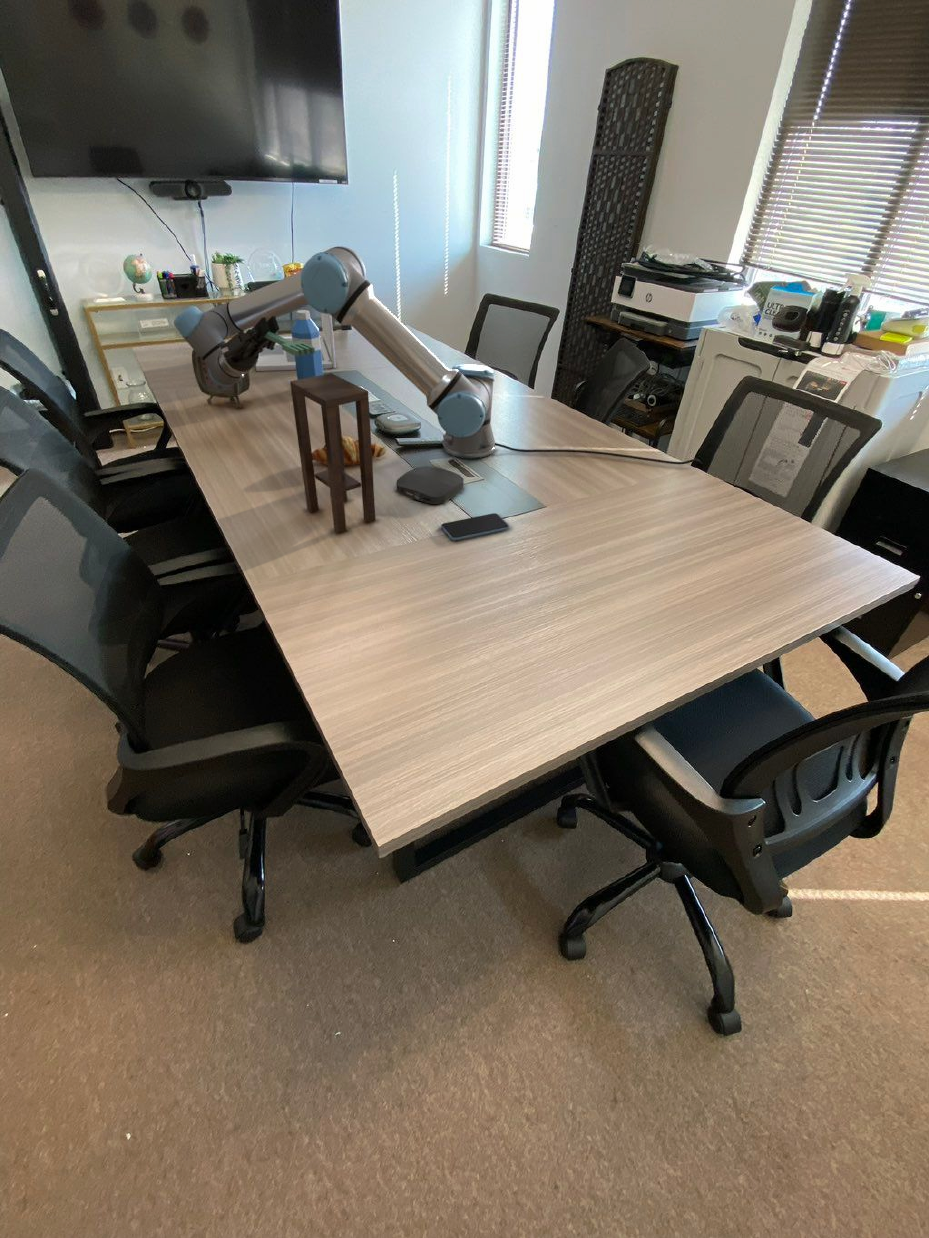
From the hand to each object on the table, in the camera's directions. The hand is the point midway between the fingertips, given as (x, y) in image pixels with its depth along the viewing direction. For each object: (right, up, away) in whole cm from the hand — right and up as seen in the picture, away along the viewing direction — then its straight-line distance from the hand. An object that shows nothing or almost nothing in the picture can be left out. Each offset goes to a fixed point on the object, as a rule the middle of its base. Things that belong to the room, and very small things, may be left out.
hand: (270, 323), depth 131 cm
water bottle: (-10, +14, +77) cm, 79 cm away
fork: (+2, -4, 0) cm, 5 cm away
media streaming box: (+34, -31, +23) cm, 52 cm away
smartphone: (+45, -44, +9) cm, 63 cm away
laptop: (-26, +41, +109) cm, 119 cm away
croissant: (+11, -21, +34) cm, 42 cm away
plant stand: (+13, -40, +11) cm, 44 cm away
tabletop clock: (-34, +5, +64) cm, 73 cm away
